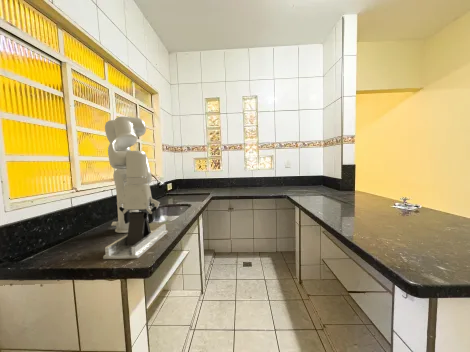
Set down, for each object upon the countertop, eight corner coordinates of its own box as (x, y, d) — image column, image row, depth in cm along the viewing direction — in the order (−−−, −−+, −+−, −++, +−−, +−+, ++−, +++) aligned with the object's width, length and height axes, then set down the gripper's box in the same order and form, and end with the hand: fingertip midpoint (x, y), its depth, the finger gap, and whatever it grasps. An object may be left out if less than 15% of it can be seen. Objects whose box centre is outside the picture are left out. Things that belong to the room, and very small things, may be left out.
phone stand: (140, 245, 78) (139, 214, 78) (126, 245, 79) (124, 214, 78) (152, 237, 87) (150, 209, 87) (138, 237, 88) (137, 209, 87)
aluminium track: (103, 259, 69) (102, 247, 69) (143, 232, 97) (142, 224, 97) (137, 258, 69) (137, 246, 69) (167, 232, 97) (167, 223, 97)
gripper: (110, 182, 79) (113, 225, 80) (154, 181, 78) (156, 225, 79) (121, 180, 86) (124, 220, 87) (161, 180, 86) (163, 219, 87)
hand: (139, 222), depth 83 cm, fingers open, 9 cm apart
